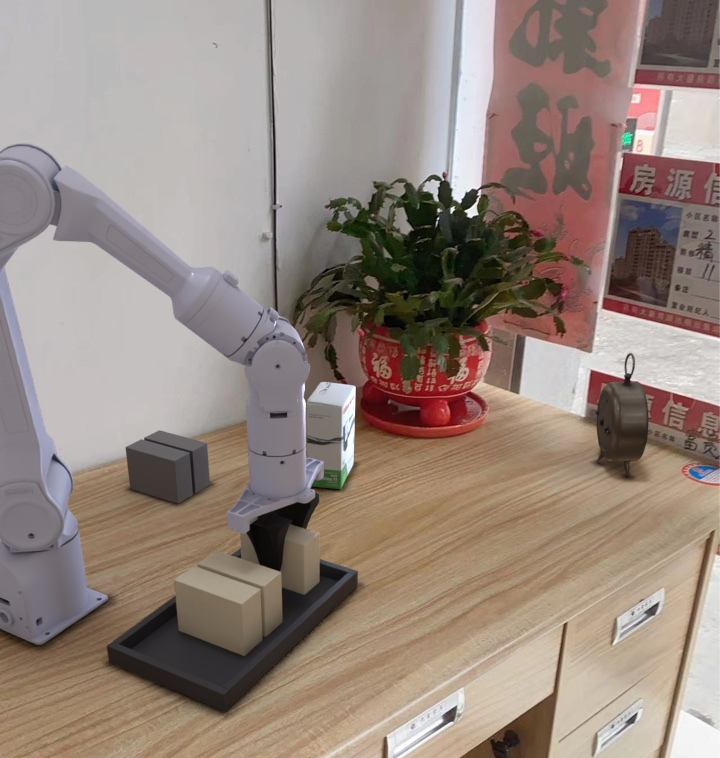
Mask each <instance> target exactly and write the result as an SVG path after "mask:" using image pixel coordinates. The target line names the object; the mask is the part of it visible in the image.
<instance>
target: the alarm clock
mask: <svg viewBox="0 0 720 758" xmlns="http://www.w3.org/2000/svg"><path fill="white" fill-rule="evenodd" d="M630 357H631V359H632V367H631V372H628V368H627V367H628V361H629V358H630ZM623 368H624V375H623V378H624V380H623V381H611V382H609V383H607V384H605V386H604V387H603V388H602V389H601V392H600V394H599V398H598V402H597V407H596V410H595V412H594V414H595V415H596V436H597V442H598V446H599V452H600V454H599V456H598V458H597V459H596V461H595V462H596V463H597V464H598V463H599V462H600V461H601V460H602V459H603V458H605V460H607V461H608V462H623V465H624V471H625V474H624V477H625V478H629V477H631V474H630V470H631V466H630V462H638V461H640V460H641V458H642V457H643V455H644V453H645V450H646V446H647V442H648V435H649V406H648V398H647V395H646V391H645V388H644V386H643V384H641V382H639V381H638V380H633V381H632V380H631V379H632V376H633V375H634V371H635V369H636V358H635V355H634V354H633V353H632V352H629V353H627V355H626V357H625V360H624V366H623Z"/></svg>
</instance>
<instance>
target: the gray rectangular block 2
mask: <svg viewBox="0 0 720 758" xmlns="http://www.w3.org/2000/svg"><path fill="white" fill-rule="evenodd" d="M143 440H146V441H149V442H153V443H156V444H160V445H164V446H167V447H171V448H174V449H178V450H182V451H185V452H189V453H190V464H191V477H192V490H193V494H197V493H198V492H200V491H202V490H204V489H205V488H207V487H209V486H210V485H211V480H210V466H209V465H210V464H209V449H208V443H207V442H204V441H201V440H198V439H193V438H191V437H186V436H182V435H178V434H175V433H173V432H172V433H171V432H167V431H164V430H161V429H158V430H157V431H154V432H153V433H150V434H149V435H147V436H145V437H143Z"/></svg>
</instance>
